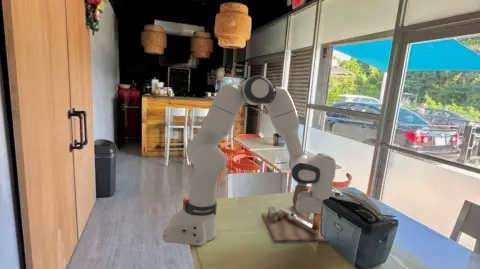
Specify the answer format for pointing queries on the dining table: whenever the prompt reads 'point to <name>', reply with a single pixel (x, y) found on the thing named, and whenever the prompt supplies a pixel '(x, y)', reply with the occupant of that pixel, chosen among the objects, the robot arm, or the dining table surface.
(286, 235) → the walnut board
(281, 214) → the tan wooden ball
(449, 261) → the dining table surface
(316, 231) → the lever
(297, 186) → the squeeze bottle
